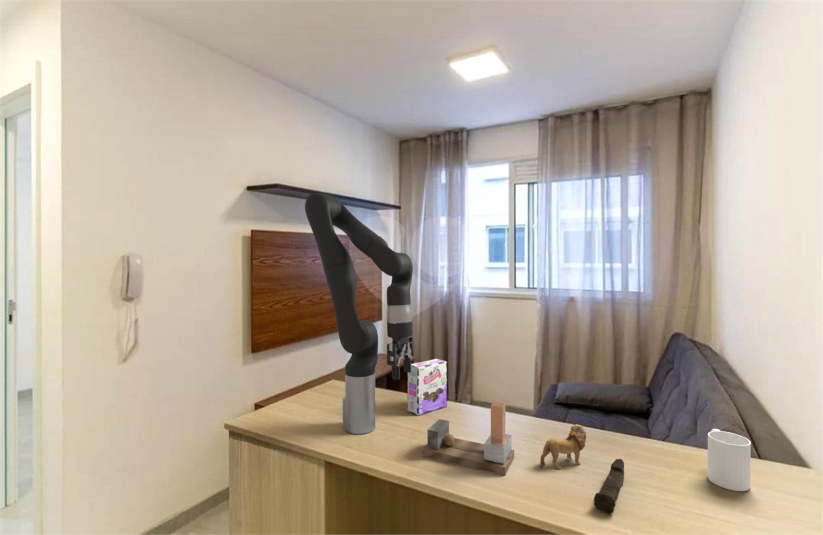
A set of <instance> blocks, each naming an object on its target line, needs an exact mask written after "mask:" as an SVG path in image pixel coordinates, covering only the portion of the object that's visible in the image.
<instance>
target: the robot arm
mask: <svg viewBox="0 0 823 535" xmlns="http://www.w3.org/2000/svg"><path fill="white" fill-rule="evenodd" d="M304 211H305V216H306V218H307V221H308V224H309V226H310V228H311V231H312V234H313V236H314V240H315V243H316V245H317V250H318V253H319V256H320V260H321V263H322V264H321V265H322V268H323V272H324V276H325V280H326V283H327V286H328V289H329V293H330V297H331V301H332V305H333V309H334V314H335V320H336V326H337V332H338V338H339V342H340V345H341V347H342V348H343V350H345V352H347V353H348V354H351V355H350V358H349V359H348V361H347V363H346V364H345V366H344V367H345V368H344V378H345V379H344V380H345V381H344V384H345V385H344V388H345V390H344V391H345V393H344V395H345V396H344V397H343V398H342V429H343V430H344V431H346V432H347V433H349V434H355V435H361V434H362V435H363V434H369V433H371V432H373V431H374V430H375V429H376V366H377V365H378V364H377V363H378V358H379V333H378V330H377V327H376V325H375V324H374V323H373V322H372V321H369V320H366V319H365V320H364V319H362V320H360V319H359V315H358V312H357V307H356V294H357V293H356V292H357V285H358V282H357V281H358V279H357V278H358V277H357V273H356V270H355V266H354V262H353V259H352V257H351V255H350V253H349V251H348V250H347V248H346V247H345V245H344V244H343V243H342V242H341V240H340V239H339V237H338V235H337V233H336V232H335V229H334V227H336V228H337V229H339V230H341V231H342V232H343V233H344V234H345V235H346V236H347V237H348V239H349V241H351V243H352V244H353V245H354V247H355V248H357V249H358V250H359V251H360V252H361V253H363V254H364V255H365V256H366V257H368V258H370V259H371V261H373V263H374V264H375V266H376V267H377V268H378V269H379V270H380V271H381V272H383V273H384V274H385V275H387V276H390V277H391V283H390V285H388V286H387V288H386V330H387V331H386V332H387V334H386V335H387V337H388V338H391V339H392V341H391V342H392V343H386V365H387V366H390V367H391V379H392V380H396V381H399V380H400V379H401V369H400V368H401V367H400V363H401V360H403V372H404V373H407V374H408V373H410V372H411V364H412V360H413V357H415V351H414V350H415V347H414V337H413V334H414V327H413V326H414V325H413V323H414V322H413V309H412V305H411V304H412V300H411V285H412V281H413V280H412V279H413V274H414V273H413V271H414V267H413V266H414V265H413V262H412V258H411V257H410V256H409V255H408V254H407V253H405V252H396V251H394V250H393V249H391V247H389V245H388V242H387V241H386V240H385V239H384V238H383V237H381V236H379V235H378V234H377V233H376V232H374V231H373V230H372V229H370V228H369V227H368V226H366V224H364V223H363V222H361V221H360V220H359V219H358V218H357V217H356V216H354V215H353V213H352V212H350V211H349V209H348V208H347V207H346V206H345V205H344V204H343V203H342V202H341V201H340V199H338V197H336V196H333V195H330V194H326V193H322V192H312V193H311V194H309V195H308V196H307V197H306V199H305V203H304Z"/></svg>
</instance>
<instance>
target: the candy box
mask: <svg viewBox="0 0 823 535" xmlns="http://www.w3.org/2000/svg"><path fill="white" fill-rule="evenodd" d="M447 363H448V362H447V361H446V360H443V359H439V358H434V359H430V360H424V361H421V362H420V361H419V362H415V363H411V372H410V373H407V403H406V404H407V406H406V407H407V409H406V410H407V412H409V413H411V414H413V415H415V416H422V415H425V414H428V413H432V412H434V411H438V410H441V409H444V408H447V407H448V390H447V389H448V387H447V386H448V382H447V381H448V378H447V377H448V375H447V374H448V373H447V372H448V370H447V369H448V367H447V366H448V364H447Z"/></svg>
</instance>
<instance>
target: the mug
mask: <svg viewBox="0 0 823 535" xmlns="http://www.w3.org/2000/svg"><path fill="white" fill-rule="evenodd" d="M751 445H752V443H751V441H750V439H748V438H747V437H745V436H744V435H743V436H742V435H739V434H737V433H734V432H729V431H723V430H720V429H718V428H712V429H711V431H709V432H708V433H707V478H708V480H709V481H710V482H711V483H712V484H714V485H716V486H718V487H720V488H723V489H725V490H728V491H729V490H730V491H735V492H746V491H749V490H750V489H751V454H752V453H751V452H752V451H751V450H752V449H751V448H752V447H751Z"/></svg>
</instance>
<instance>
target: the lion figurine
mask: <svg viewBox="0 0 823 535" xmlns="http://www.w3.org/2000/svg"><path fill="white" fill-rule="evenodd" d="M586 442H587V431H586V429H585V428H584V426H582V425H581V424H577V423H576V424H574V425H572V426H570V431H569V433H568V436H567V437H566V438H563V439H557V438H550V439H548V440H546V441H545V444H544V446H543V451H542V454H541V456H540V462H539V464H540V467H539V468H540V469H543V468H544V466H545V465H546V461H545V458H546V457H547V456H548V455H549V454H550V453H551V456H552V464H553V465H554V467H555V468H556V469H557V470H562V466H561V465H559V464H558V458H559V456H560V454H562V455H566V460H567V461H568V462H570V461H572V460H573V458H572V453H573V454H574V464H575V465H577V466H581V464H582V463H581V462H580V461H579V460H580V455H581V454H580V453H581V451H582V450H584V448H585V446H586Z"/></svg>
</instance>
